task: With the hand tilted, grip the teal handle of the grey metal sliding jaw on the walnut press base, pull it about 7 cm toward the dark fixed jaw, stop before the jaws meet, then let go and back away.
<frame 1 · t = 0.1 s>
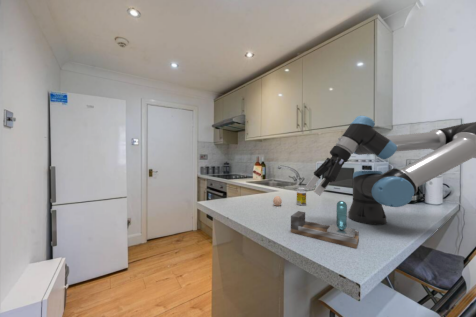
hand: (311, 190, 82), 15 cm above the countertop, tool tilted 35°, fingers open, 13 cm apart
sliding jaw: (341, 223, 69), point 6 cm above the countertop, slide at 0.0 cm
supplement bottle: (301, 204, 120), on the countertop
egg: (277, 206, 117), on the countertop
press base: (323, 235, 73), on the countertop
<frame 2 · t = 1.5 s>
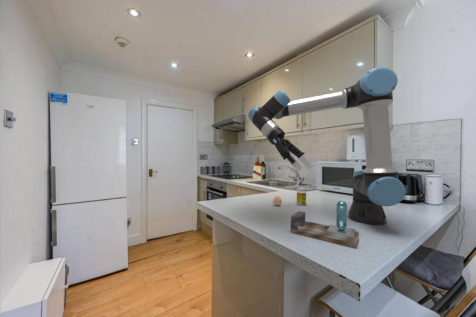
hand: (306, 168, 78), 25 cm above the countertop, tool tilted 45°, fingers open, 13 cm apart
nothing on the countertop moved.
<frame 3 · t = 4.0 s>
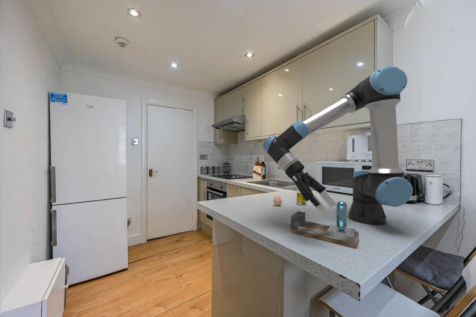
hand: (330, 209, 70), 11 cm above the countertop, tool tilted 45°, fingers open, 13 cm apart
nothing on the countertop moved.
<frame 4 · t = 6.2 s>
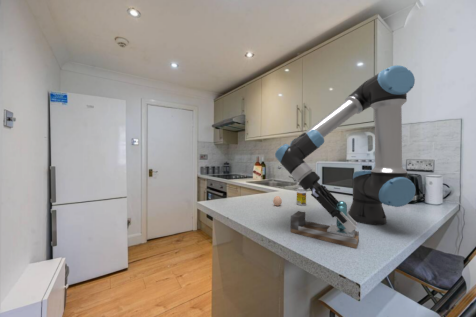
hand: (353, 228, 67), 5 cm above the countertop, tool tilted 45°, fingers closed on sliding jaw, 3 cm apart
sliding jaw: (341, 223, 69), point 6 cm above the countertop, slide at 0.0 cm, touching gripper
everything else where it was.
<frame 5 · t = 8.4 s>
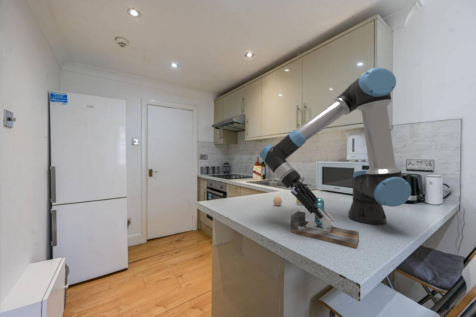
hand: (330, 223, 71), 5 cm above the countertop, tool tilted 45°, fingers closed on sliding jaw, 3 cm apart
sliding jaw: (319, 218, 73), point 6 cm above the countertop, slide at 7.5 cm, touching gripper
everything else where it was.
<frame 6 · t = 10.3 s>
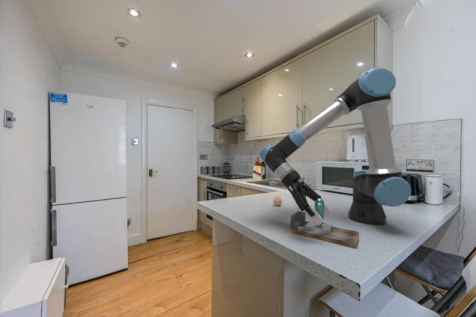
hand: (325, 218, 72), 7 cm above the countertop, tool tilted 45°, fingers open, 13 cm apart
sliding jaw: (319, 218, 73), point 6 cm above the countertop, slide at 7.5 cm
everything else where it was.
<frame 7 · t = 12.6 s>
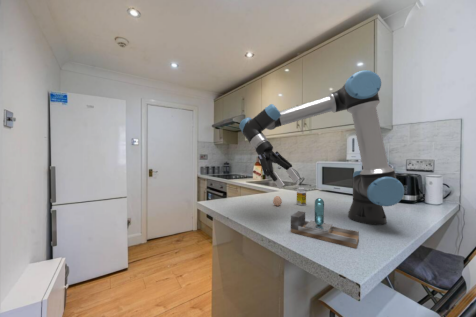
hand: (290, 183, 82), 18 cm above the countertop, tool tilted 40°, fingers open, 13 cm apart
nothing on the countertop moved.
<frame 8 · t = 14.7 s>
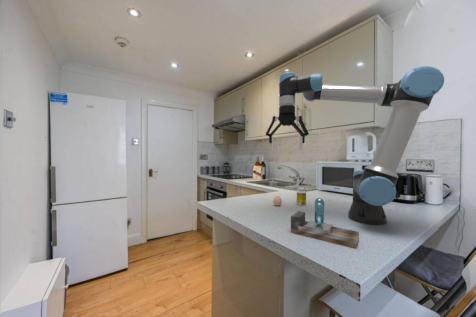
hand: (286, 150, 94), 33 cm above the countertop, tool pointing down, fingers open, 13 cm apart
nothing on the countertop moved.
at the end: sliding jaw slide at 7.5 cm; the gripper is holding nothing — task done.
